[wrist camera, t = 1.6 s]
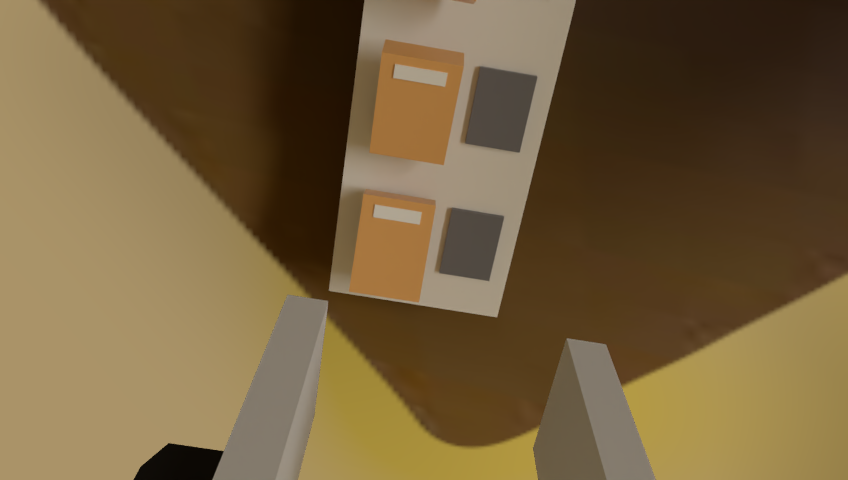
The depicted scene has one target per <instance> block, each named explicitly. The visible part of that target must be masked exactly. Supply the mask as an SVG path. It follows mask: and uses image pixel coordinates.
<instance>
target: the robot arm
mask: <svg viewBox="0 0 848 480" xmlns="http://www.w3.org/2000/svg"><path fill="white" fill-rule="evenodd" d="M327 308H328V301H325V300H318V299H312V298H306V297H299V296H292V295H287V298H286V300H285V302H284V305H283V307H282V310H281V312H280V315H279V317H278V320H277V322H276V324H275V327H274V329H273V332H272V334H271V337H270V339H269V342H268V344H267V347H266V349H265V352H264V354H263V356H262V359H261V361H260V364H259V366H258V369H257V371H256V374H255V376H254V379H253V381H252V383H251V386H250V388H249V391H248V393H247V396H246V398H245V401H244V403H243V406H242V408H241V411H240V413H239V416H238V418H237V421H236V423H235V425H234V428H233V430H232V433H231V435H230V438H229V440H228V443H227V445H226V448H225V450H224V451H218V450H211V449H204V448H198V447H191V446H184V445H177V444H170V443H168V444H167V445H166V446H165V447H164V448H162V449H161V450H160V451H159V452H158V453H157V454H155V455H154V456H153V457H152V458H151V459H149V460H148V461H147V462H146V463H145V464H143V465H142V466H141V467H140V469H139V471H138V473H137V475H136V476H135V478H134V480H298V477H299V473H300V469H301V465H302V461H303V457H304V453H305V450H306V446H307V442H308V438H309V434H310V430H311V426H312V422H313V418H314V413H315V405H316V397H317V389H318V381H319V373H320V364H321V356H322V348H323V340H324V332H325V324H326V316H327ZM533 451H534V457H535V463H536V469H537V475H538V480H656V479H655V476H654V474H653V471H652V468H651V466H650V463H649V460H648V457H647V455H646V452H645V449H644V447H643V444H642V441H641V438H640V436H639V433H638V431H637V428H636V425H635V422H634V420H633V417H632V414H631V412H630V409H629V406H628V403H627V400H626V398H625V395H624V392H623V390H622V387H621V384H620V382H619V379H618V376H617V373H616V371H615V368H614V365H613V363H612V360H611V357H610V354H609V352H608V349H607V346H606V344H599V343H593V342H587V341H580V340H574V339H568V338H567V339H566V342H565V345H564V349H563V352H562V355H561V359H560V362H559V365H558V368H557V372H556V375H555V378H554V382H553V385H552V388H551V391H550V395H549V398H548V401H547V404H546V408H545V411H544V414H543V418H542V421H541V424H540V427H539V431H538V434H537V437H536V441H535V444H534V447H533Z"/></svg>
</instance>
